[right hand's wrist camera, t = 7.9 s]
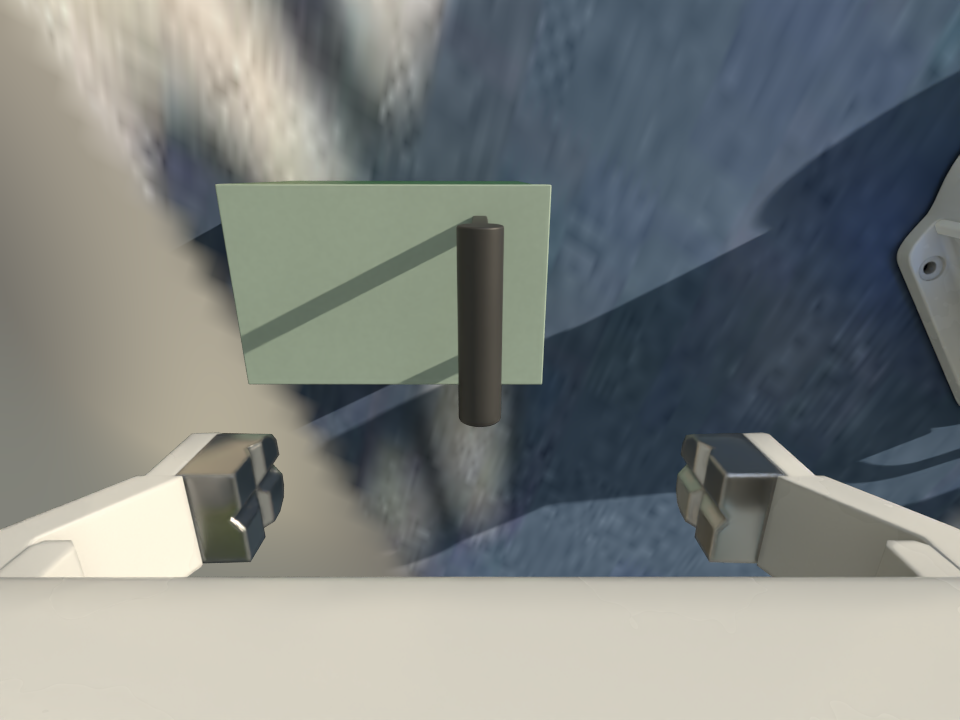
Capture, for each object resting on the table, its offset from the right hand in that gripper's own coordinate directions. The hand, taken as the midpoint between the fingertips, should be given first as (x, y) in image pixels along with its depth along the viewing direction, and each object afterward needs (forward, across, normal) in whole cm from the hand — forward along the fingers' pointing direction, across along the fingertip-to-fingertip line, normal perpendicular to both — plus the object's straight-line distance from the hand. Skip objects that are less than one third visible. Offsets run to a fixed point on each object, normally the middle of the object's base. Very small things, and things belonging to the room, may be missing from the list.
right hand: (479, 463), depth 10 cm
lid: (+17, +4, 0) cm, 17 cm away
